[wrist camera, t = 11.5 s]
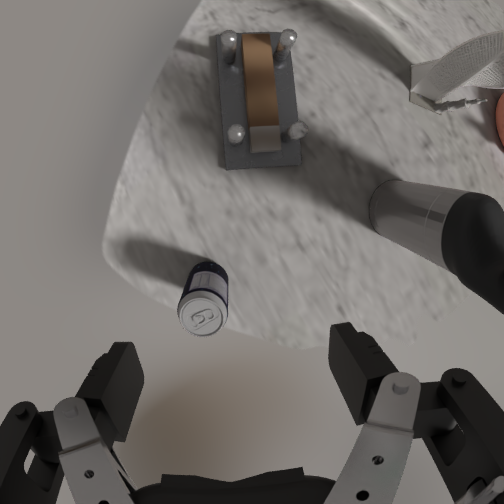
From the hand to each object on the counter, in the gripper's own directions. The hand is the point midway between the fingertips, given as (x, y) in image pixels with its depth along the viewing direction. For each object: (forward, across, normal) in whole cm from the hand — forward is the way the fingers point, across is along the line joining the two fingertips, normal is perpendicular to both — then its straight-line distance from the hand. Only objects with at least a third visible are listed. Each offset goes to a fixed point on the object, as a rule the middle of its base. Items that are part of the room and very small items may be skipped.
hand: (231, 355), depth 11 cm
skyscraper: (+31, -33, -21) cm, 50 cm away
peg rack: (+30, -5, -17) cm, 35 cm away
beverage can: (+30, +4, +8) cm, 32 cm away
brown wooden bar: (+29, -5, -17) cm, 34 cm away
